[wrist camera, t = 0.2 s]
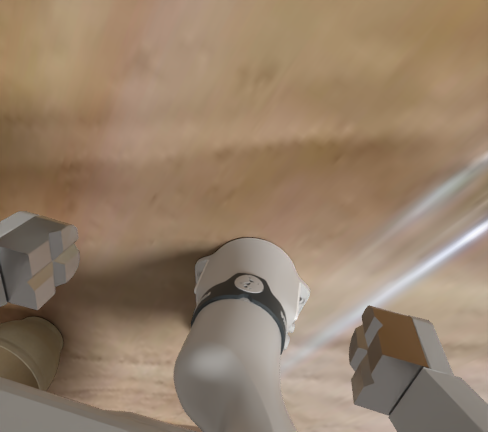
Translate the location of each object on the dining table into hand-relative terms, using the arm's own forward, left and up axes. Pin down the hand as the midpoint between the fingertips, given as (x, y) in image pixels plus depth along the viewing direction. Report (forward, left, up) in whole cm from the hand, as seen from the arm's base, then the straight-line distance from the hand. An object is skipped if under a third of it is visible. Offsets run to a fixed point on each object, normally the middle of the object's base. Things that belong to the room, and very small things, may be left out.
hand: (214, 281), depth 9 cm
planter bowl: (-49, +38, -39) cm, 73 cm away
